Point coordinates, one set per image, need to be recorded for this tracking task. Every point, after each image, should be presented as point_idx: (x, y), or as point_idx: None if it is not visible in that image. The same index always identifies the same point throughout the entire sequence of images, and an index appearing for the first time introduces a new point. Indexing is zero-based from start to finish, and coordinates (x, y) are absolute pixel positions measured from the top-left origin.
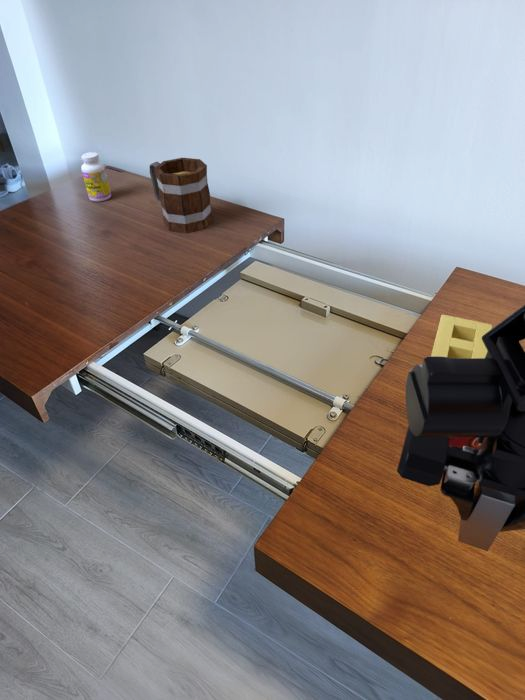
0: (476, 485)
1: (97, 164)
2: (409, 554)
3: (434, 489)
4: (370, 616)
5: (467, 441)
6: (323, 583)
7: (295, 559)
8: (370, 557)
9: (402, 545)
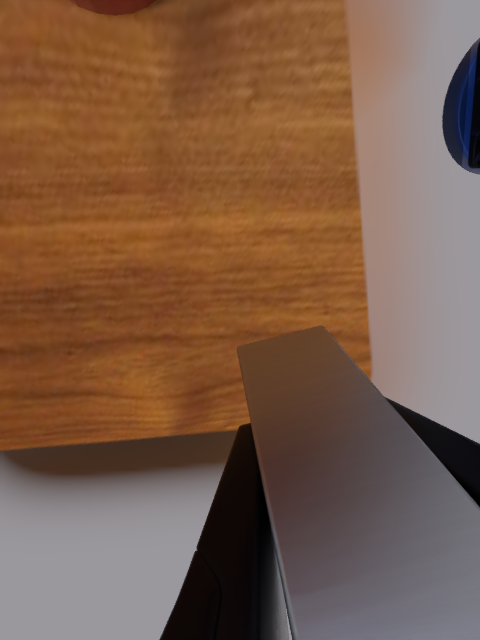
0: (281, 582)
1: None
2: (169, 317)
3: (132, 114)
4: (171, 432)
5: None
6: (84, 437)
7: (19, 436)
8: (115, 363)
9: (149, 309)
